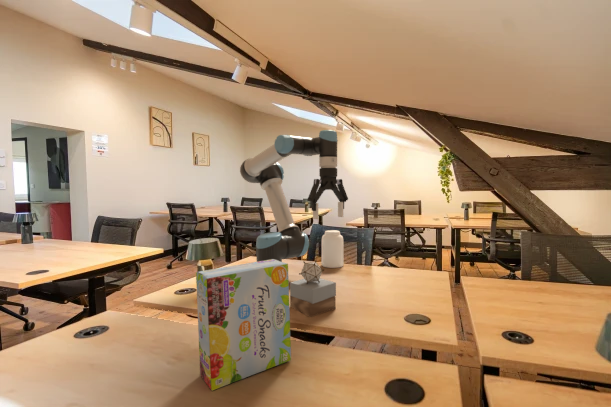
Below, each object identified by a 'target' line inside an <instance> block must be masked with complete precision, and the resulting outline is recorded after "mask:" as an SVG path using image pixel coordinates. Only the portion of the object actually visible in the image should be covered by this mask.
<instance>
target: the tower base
mask: <svg viewBox="0 0 611 407" xmlns="http://www.w3.org/2000/svg"><path fill="white" fill-rule="evenodd" d="M336 298H337V297H336V296H334V297H331V298H328V299H325V300H322V301H320V302H317V303H314V304H312V303H309V302H307V301H304V300H301V299H298V298H295V297H293V296H290V295H289V308H292V309H293V310H295V311H297V312H300V313H301V314H304V315H305V316H307V317H309V318H310V317H314V316H317V315H321V314H323V313H326V312H331V311H333V310H336V308H337V307H336Z"/></svg>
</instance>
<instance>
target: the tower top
mask: <svg viewBox="0 0 611 407" xmlns="http://www.w3.org/2000/svg"><path fill="white" fill-rule="evenodd" d="M319 281H320V283H319V282H318V281H315V282H308V284H307V281H306V280H305V279H304V278H302V279H299V280H294V281H291V282H289V297H290V296H293V297H295V298H298V299H301V300H304V301H307V302H309V303H312V304H314V303H317V302H320V301H322V300H325V299H328V298H331V297H334V296H335V297H336V296H337V281H331V280H328V279H324V278H321V277H320V278H319Z"/></svg>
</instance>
